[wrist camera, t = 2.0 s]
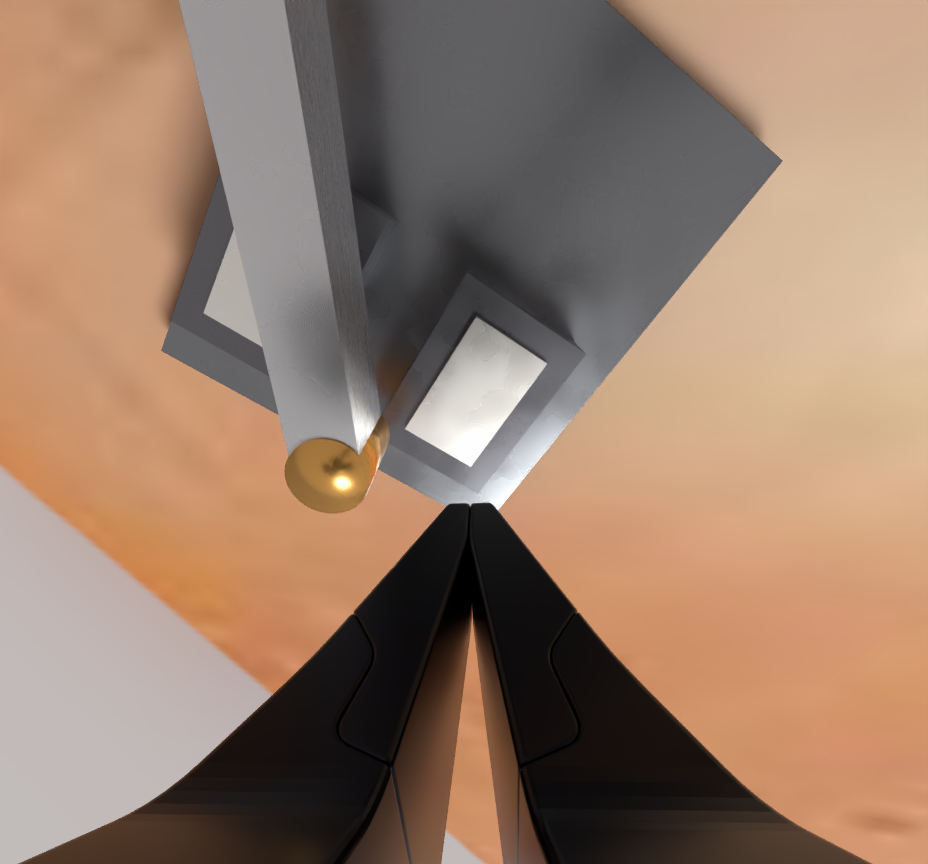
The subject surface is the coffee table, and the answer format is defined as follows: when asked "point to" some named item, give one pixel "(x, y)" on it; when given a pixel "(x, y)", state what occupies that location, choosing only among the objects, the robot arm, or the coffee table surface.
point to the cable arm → (295, 232)
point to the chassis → (495, 223)
